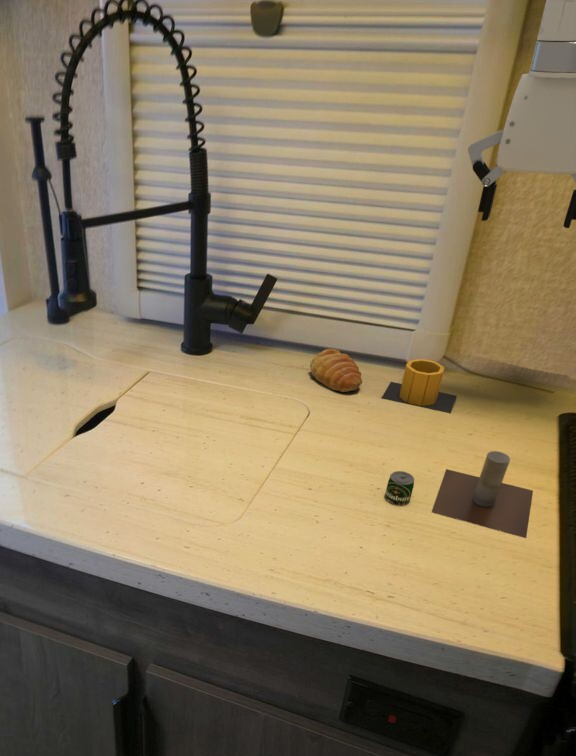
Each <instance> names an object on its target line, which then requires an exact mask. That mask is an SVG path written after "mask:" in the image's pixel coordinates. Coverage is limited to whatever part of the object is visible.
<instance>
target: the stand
mask: <svg viewBox="0 0 576 756" xmlns="http://www.w3.org/2000/svg"><path fill="white" fill-rule="evenodd" d="M510 462H511V457H510V456H509V455H508V454H506V453H505V452H502V451H498V450H497V451H495V450H494V451H489V452H488V453H487V454H486V456H485V459H484V462H483V465H482V469H481V472H480V473H479V476H476V475H472V474H468V473H464V472H459V471H455V470H452V469H448V468H447V469H445V471H444V475H443V477H442V480H441V482H440V486H439V488H438V491H437V495H436V498H435V500H434V503H433V506H432V509H431V514H435V515H438V516H442V517H446V518H449V519H453V520H457V521H461V522H464V523H468V524H472V525H475V526H479V527H483V528H487V529H490V530H494V531H497V532H501V533H504V534H509V535H513V536H517V537H519V538H523V539H527V534H528V529H529V521H530V516H531V515H530V514H531V508H532V501H533V493H534V490H532V489H529V488H524V487H520V486H516V485H513V484H508V483H504V482H503V481H504V479H505V476H506V473H507V470H508V467H509V464H510Z"/></svg>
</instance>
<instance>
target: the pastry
mask: <svg viewBox="0 0 576 756" xmlns="http://www.w3.org/2000/svg"><path fill="white" fill-rule="evenodd" d="M309 368H310V372H311V375H312V376H313V377H314V378H315V380H316V381H318V382H319V383H322V385H323V386H325V387H327V388H328V389H331V390H332V391H339V392H340V393H347V392H350V391H351V392H352V391H355V390H358V389H359V388H360V386H361V385H362V383H363V379H362V373H361V371H360V369H359V368H360V367H359V366H358V365H357V363H356V362H355V360H354V359H353V358H351V357H350V355H348V354H347V353H341V352H340V350H338V349H335V348H326V349H323V350H322V351H321V352H318V353H317V354H316V355H315V356H314V357H313V358H312V359H311V361H310V363H309Z"/></svg>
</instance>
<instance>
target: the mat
mask: <svg viewBox="0 0 576 756" xmlns="http://www.w3.org/2000/svg"><path fill="white" fill-rule="evenodd" d="M401 386H402V383H400V382H395V381H390V382H389V384H388V386H387V387H386V389H385V391H384V392H383V394H382V396H381V400H385V401H386V400H387V401H392V402H395V403H400V404H405V405H410V406H414V407H419V408H423V409H426V410H427V409H428V410H433V411H436V412H437V411H438V412H442V413H447V414H451V413H452V411H453V408H454V405H455V403H456V401H457V398H458V395H457V394H453V393H448V392H444V391H443V392H442V391H439V392H438V396H437V399H436V402H435V404H433V405H427V406H422V405H421V406H418V405H413V404H409V403H406V402H405V401H404V400H402V399H401V398H400V396H399V395H400V390H401Z"/></svg>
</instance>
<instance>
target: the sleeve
mask: <svg viewBox="0 0 576 756" xmlns="http://www.w3.org/2000/svg"><path fill="white" fill-rule="evenodd" d="M444 373H445V366H443V365H442V364H440V363H439V362H437V361H435V360H430V359H425V358H417V359H410V360H408V361H407V363H406V365H405V368H404V372H403V377H402V381H401V384H402V386H401V390H400V395H399V396H400V398H401V399H402V400H404V401H405V402H406V403H409V404H413V405H412V406H414V405H418V406H421V405H422V406H427V405H433V404H435V402H436V399H437V396H438V392H440V389H441V384H442V381H443V376H444ZM409 404H408V405H409ZM418 406H417V407H418Z"/></svg>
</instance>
